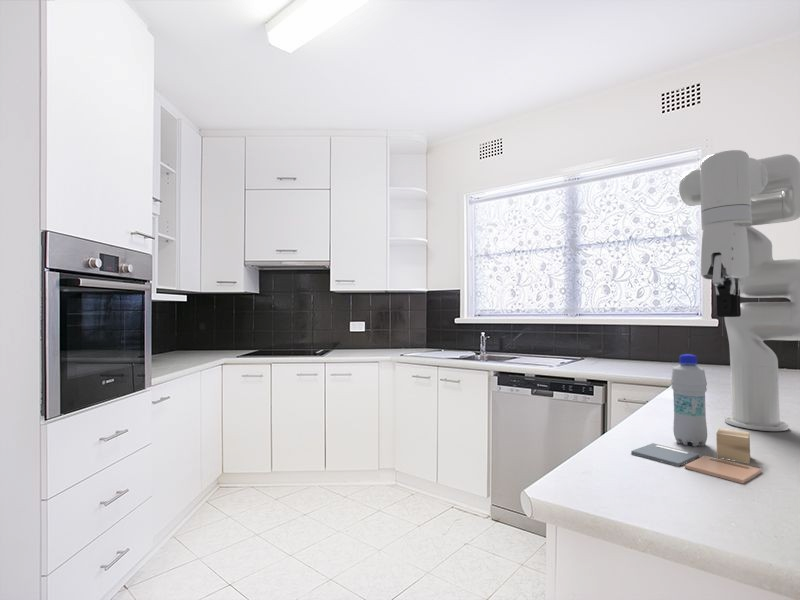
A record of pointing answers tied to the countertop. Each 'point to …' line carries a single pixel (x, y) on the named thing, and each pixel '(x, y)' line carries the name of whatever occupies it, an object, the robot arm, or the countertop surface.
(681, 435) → the bottle
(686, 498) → the countertop surface
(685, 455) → the slate mat
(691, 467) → the terracotta tile
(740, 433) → the oak block
